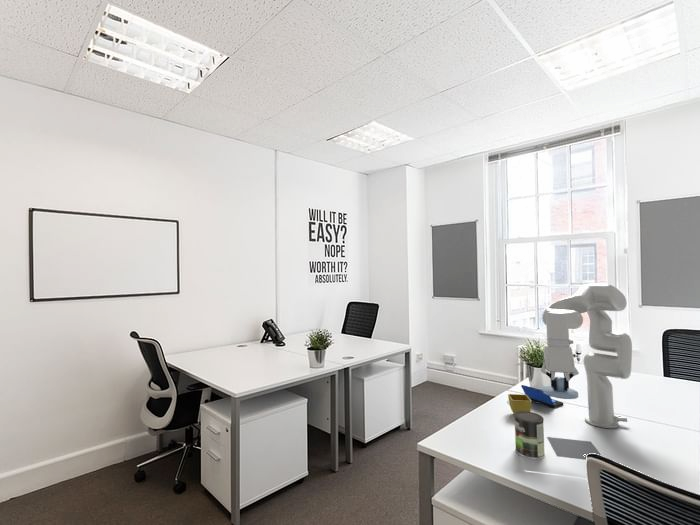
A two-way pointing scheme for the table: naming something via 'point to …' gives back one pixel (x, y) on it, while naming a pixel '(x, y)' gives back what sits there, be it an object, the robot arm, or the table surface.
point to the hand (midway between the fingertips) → (559, 389)
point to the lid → (560, 390)
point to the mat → (572, 448)
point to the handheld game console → (540, 397)
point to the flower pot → (519, 403)
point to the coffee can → (529, 434)
